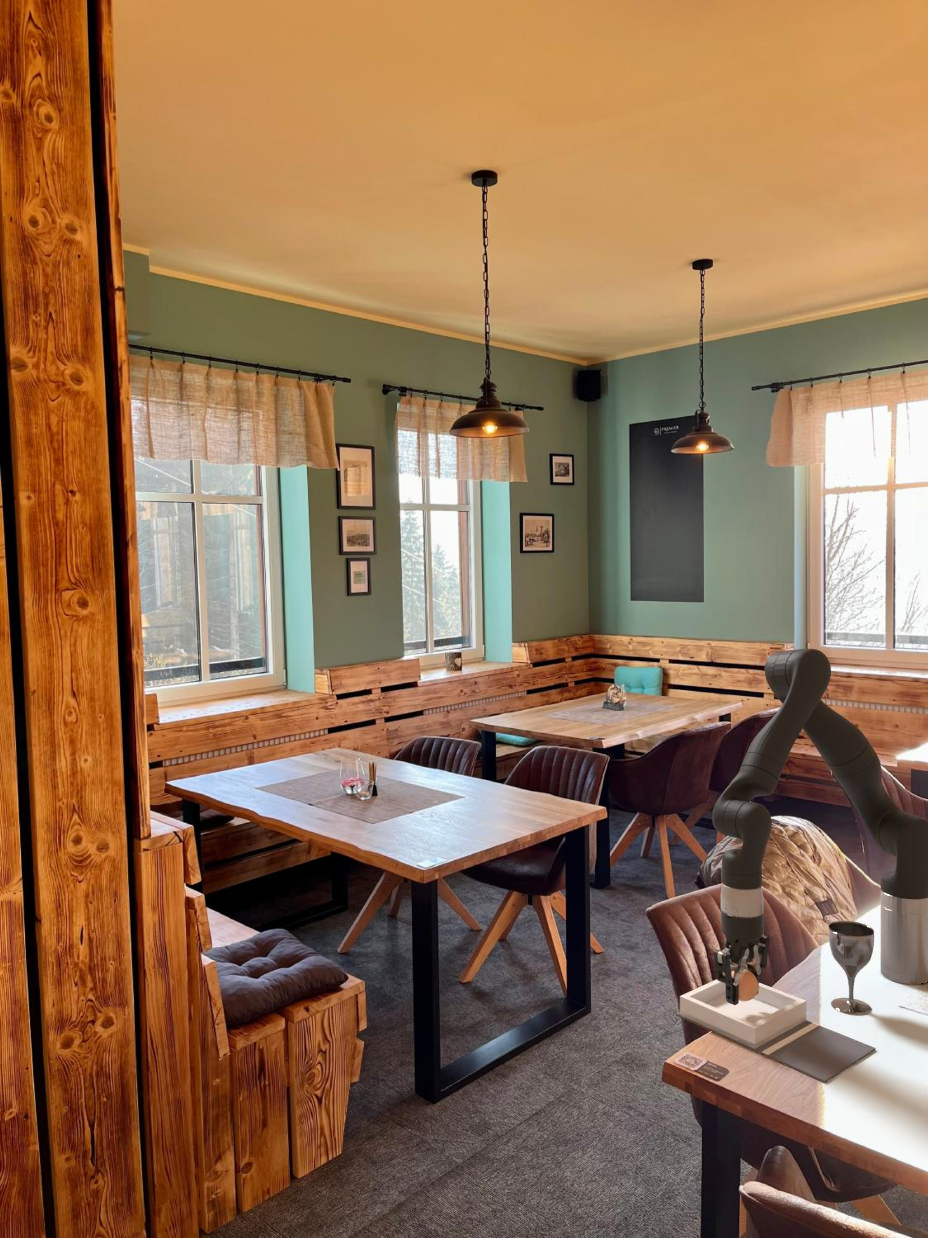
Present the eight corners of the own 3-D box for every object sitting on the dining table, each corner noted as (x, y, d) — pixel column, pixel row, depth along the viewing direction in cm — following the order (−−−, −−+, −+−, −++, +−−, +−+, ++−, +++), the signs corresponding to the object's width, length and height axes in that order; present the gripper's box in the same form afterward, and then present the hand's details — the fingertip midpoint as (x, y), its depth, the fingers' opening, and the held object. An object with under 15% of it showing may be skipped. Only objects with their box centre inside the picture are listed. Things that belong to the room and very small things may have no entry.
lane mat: (727, 990, 180) (727, 988, 180) (875, 1050, 156) (875, 1047, 156) (675, 1015, 170) (675, 1013, 170) (824, 1083, 146) (824, 1080, 146)
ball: (738, 990, 171) (738, 961, 171) (764, 1000, 167) (764, 971, 167) (720, 999, 168) (720, 969, 168) (746, 1010, 164) (746, 979, 163)
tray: (732, 990, 179) (732, 972, 179) (806, 1020, 166) (806, 1001, 166) (680, 1015, 169) (679, 996, 169) (754, 1049, 156) (754, 1028, 156)
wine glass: (819, 1001, 174) (819, 924, 174) (851, 994, 177) (851, 918, 177) (850, 1019, 167) (850, 939, 166) (883, 1012, 170) (883, 932, 169)
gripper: (747, 894, 174) (748, 980, 175) (700, 911, 165) (701, 1003, 166) (782, 904, 168) (782, 994, 169) (735, 923, 159) (736, 1018, 160)
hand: (742, 998), depth 167 cm, fingers closed on ball, 5 cm apart
